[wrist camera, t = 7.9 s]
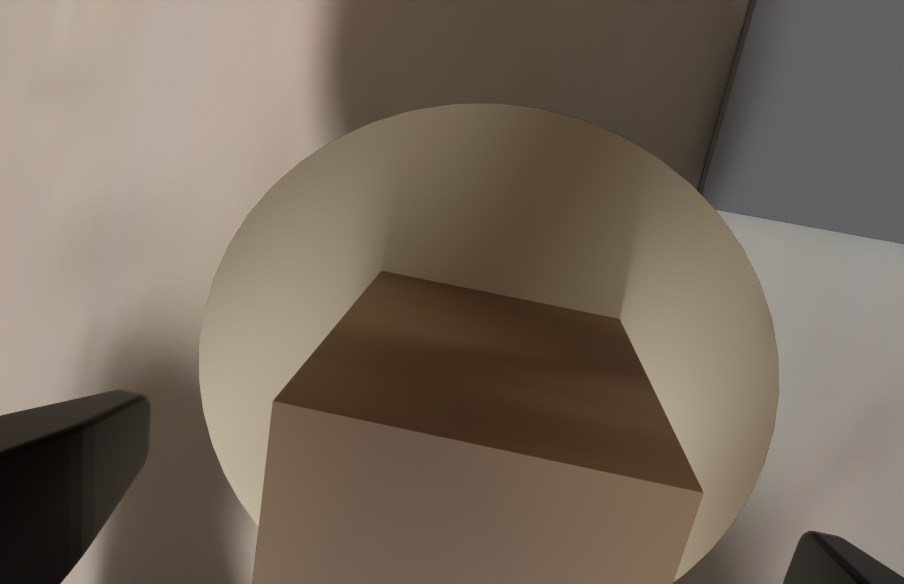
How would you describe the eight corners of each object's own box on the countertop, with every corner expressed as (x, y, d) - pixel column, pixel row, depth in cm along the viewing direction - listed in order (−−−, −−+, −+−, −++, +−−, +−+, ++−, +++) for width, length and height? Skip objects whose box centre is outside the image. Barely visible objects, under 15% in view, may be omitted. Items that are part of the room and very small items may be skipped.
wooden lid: (833, 164, 11) (1222, 235, 5) (668, 639, 14) (783, 1049, 8) (251, 54, 11) (-49, -7, 5) (209, 537, 14) (-16, 851, 8)
